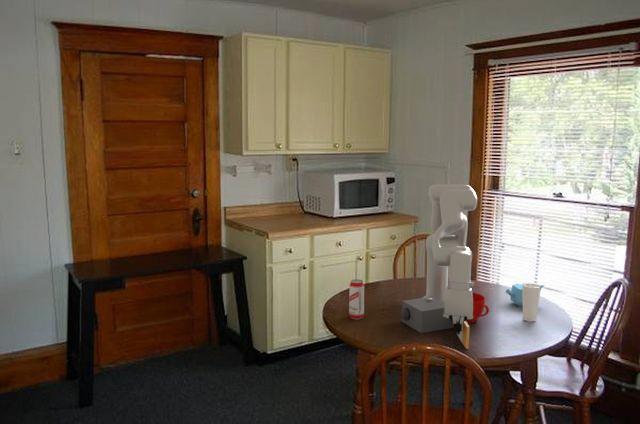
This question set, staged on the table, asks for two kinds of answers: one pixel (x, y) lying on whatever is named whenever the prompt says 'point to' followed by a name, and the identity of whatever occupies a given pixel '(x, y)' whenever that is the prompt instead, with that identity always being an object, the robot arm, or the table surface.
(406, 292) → the table surface
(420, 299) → the block
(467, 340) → the side door
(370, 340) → the table surface
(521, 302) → the teapot
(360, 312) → the beer can
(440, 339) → the table surface
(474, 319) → the ceramic cup
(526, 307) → the drinking glass
